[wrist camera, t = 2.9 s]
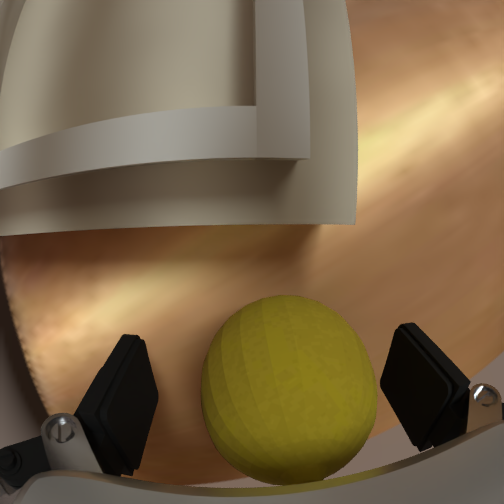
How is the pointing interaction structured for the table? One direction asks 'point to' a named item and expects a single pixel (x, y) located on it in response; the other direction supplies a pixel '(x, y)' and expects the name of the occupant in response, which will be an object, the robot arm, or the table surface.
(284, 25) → the stand
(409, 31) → the table surface
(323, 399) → the lemon
